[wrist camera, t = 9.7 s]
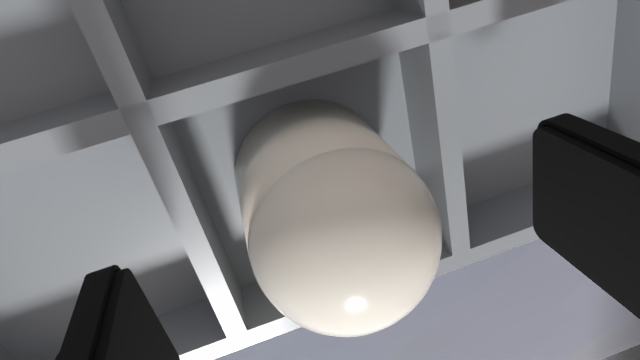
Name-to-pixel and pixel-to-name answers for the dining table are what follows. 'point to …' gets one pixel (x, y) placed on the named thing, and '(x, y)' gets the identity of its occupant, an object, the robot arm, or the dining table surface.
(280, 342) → the dining table surface
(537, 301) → the dining table surface
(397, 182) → the cream egg
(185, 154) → the egg tray
